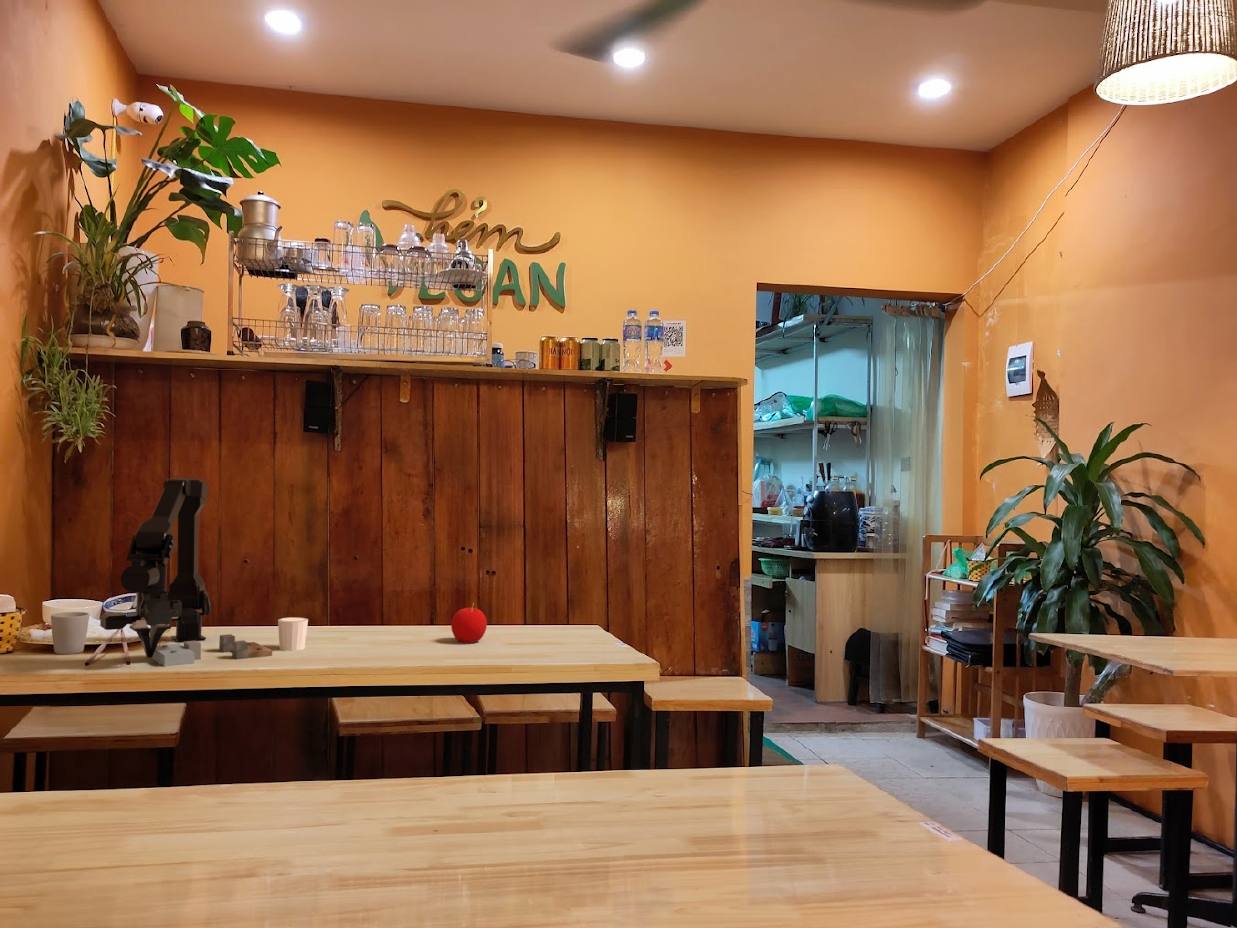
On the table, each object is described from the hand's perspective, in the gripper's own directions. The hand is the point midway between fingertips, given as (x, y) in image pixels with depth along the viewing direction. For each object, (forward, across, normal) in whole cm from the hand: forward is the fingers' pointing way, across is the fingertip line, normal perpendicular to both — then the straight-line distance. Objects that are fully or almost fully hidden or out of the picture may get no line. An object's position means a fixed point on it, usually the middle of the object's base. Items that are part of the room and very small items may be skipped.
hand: (149, 657), depth 206 cm
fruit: (+1, +73, -13) cm, 74 cm away
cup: (+1, -12, +21) cm, 24 cm away
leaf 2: (+1, +21, 0) cm, 21 cm away
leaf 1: (+1, +6, 0) cm, 6 cm away
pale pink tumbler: (+1, +32, 0) cm, 32 cm away
